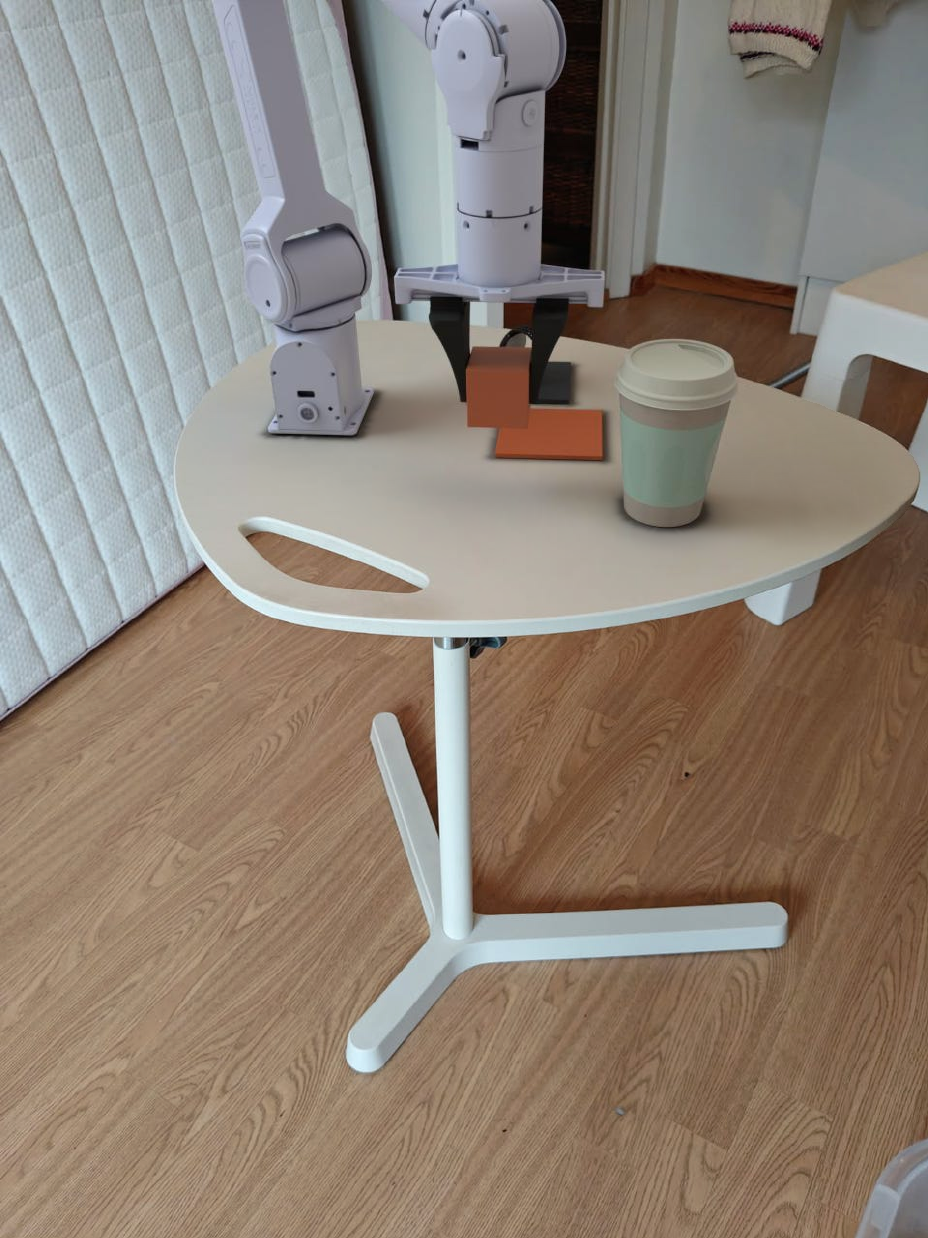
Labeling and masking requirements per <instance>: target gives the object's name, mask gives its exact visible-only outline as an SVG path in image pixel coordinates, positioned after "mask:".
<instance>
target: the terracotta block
mask: <svg viewBox="0 0 928 1238" xmlns="http://www.w3.org/2000/svg"><path fill="white" fill-rule="evenodd" d="M531 364H532V346H531V347H529V346H527V347H526V346H525V347H499V346H482V345H480V346H479V345H475V346H474V345H473V346H472V347H471V349H470V358H469V361H468V365H467V369H466V391H467V402H466V426H467V428H482V429H483V428H484V429H485V428H486V429H499V428H517V429H528V423H529V416H530V408H531V406H532V404H529V383H530V374H531Z"/></svg>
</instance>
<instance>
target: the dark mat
mask: <svg viewBox="0 0 928 1238" xmlns="http://www.w3.org/2000/svg"><path fill="white" fill-rule="evenodd" d="M571 369H572V361H548V363H547V366H546V369H545V372H544V375H543V378H542V382H541V386H540V390H539V399H538V404H567V405H568V404H570V392H571V391H570V390H571V371H572V370H571Z"/></svg>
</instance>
